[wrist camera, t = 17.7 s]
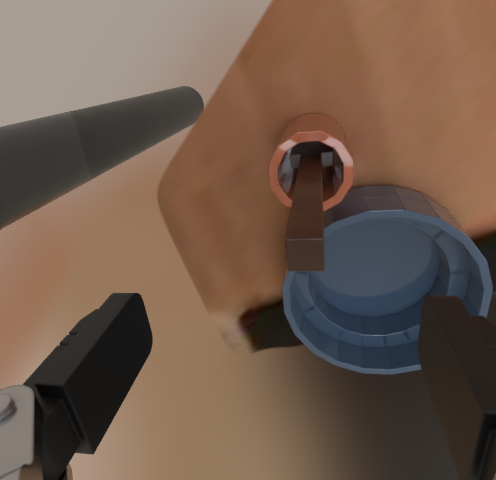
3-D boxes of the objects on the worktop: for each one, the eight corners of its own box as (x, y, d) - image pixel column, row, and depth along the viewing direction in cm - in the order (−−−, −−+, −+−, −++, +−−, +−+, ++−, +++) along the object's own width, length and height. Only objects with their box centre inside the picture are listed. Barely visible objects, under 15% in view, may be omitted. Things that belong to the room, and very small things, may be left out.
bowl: (292, 326, 38) (288, 369, 33) (283, 187, 32) (276, 214, 27) (450, 330, 35) (473, 379, 30) (476, 178, 29) (511, 205, 24)
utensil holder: (282, 179, 31) (272, 214, 24) (278, 116, 29) (265, 135, 22) (345, 175, 30) (352, 211, 23) (345, 109, 28) (354, 128, 21)
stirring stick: (293, 157, 30) (266, 272, 14) (293, 140, 29) (262, 240, 13) (331, 155, 29) (347, 272, 13) (331, 137, 29) (347, 238, 13)
